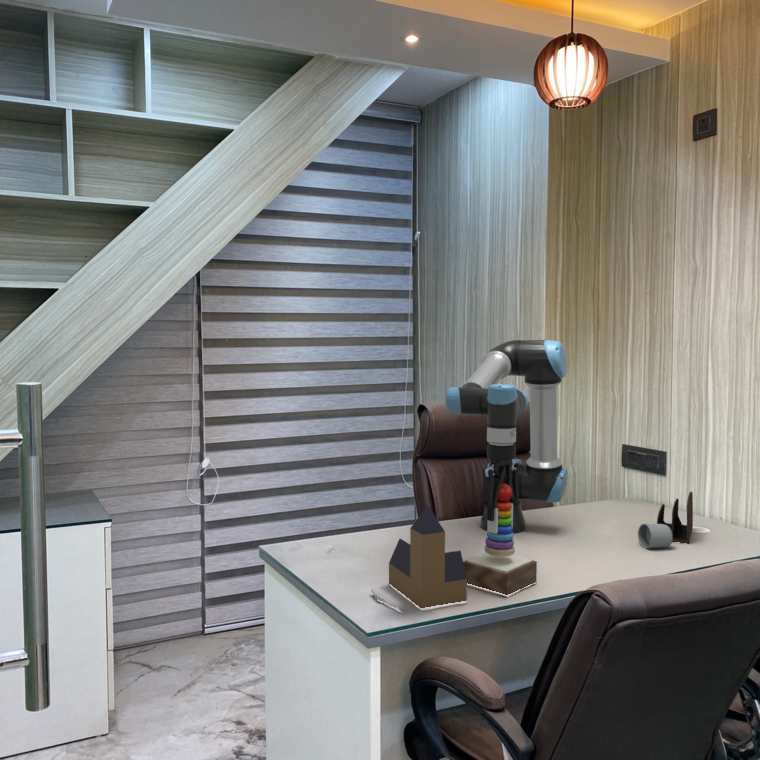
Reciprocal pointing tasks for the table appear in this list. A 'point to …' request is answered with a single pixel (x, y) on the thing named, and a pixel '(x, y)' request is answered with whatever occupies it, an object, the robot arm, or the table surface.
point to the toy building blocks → (428, 565)
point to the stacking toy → (502, 527)
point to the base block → (500, 572)
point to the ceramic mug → (655, 535)
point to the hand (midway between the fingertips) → (500, 529)
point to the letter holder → (678, 530)
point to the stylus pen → (383, 598)
